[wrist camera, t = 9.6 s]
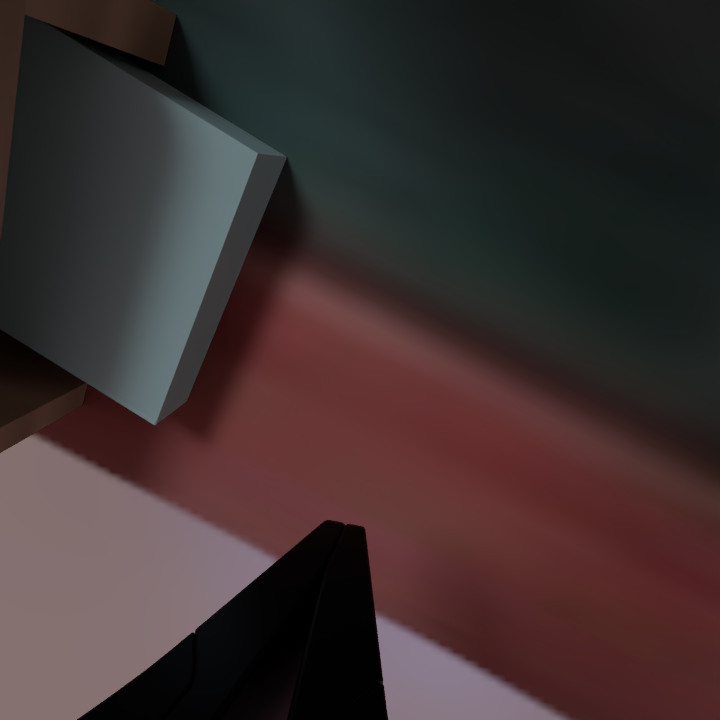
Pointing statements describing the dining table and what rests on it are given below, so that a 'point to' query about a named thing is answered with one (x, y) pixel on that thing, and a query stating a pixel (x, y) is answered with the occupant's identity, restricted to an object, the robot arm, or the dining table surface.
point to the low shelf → (3, 49)
